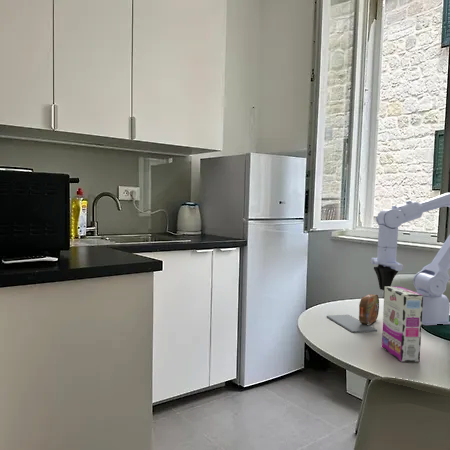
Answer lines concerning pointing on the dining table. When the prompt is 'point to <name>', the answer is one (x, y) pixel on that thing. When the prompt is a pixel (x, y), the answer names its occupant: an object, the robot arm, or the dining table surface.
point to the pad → (351, 323)
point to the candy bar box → (402, 323)
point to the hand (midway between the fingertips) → (384, 289)
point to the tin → (368, 309)
